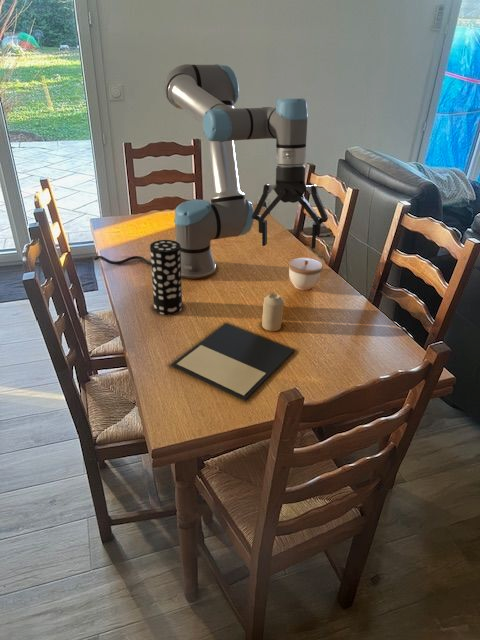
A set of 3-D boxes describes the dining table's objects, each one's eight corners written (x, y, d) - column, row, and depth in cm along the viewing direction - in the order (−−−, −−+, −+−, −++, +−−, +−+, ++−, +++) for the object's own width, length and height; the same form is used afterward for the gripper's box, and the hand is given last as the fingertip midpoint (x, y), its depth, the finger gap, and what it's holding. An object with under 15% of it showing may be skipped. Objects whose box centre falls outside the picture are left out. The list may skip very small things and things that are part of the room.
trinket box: (318, 295, 150) (322, 269, 145) (285, 290, 152) (287, 264, 147) (320, 280, 159) (323, 255, 154) (288, 276, 161) (291, 251, 156)
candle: (260, 320, 136) (263, 290, 130) (279, 320, 136) (282, 290, 131) (263, 331, 131) (265, 300, 126) (282, 331, 132) (285, 300, 126)
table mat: (170, 365, 116) (170, 364, 116) (225, 324, 134) (225, 322, 133) (245, 401, 106) (245, 399, 106) (294, 351, 124) (294, 349, 123)
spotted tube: (186, 304, 142) (185, 242, 131) (174, 317, 135) (172, 253, 125) (162, 298, 144) (158, 237, 134) (148, 311, 138) (144, 248, 127)
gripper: (239, 166, 119) (241, 247, 128) (339, 167, 113) (333, 252, 122) (247, 162, 126) (248, 239, 135) (341, 163, 120) (336, 244, 128)
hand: (288, 246), depth 128 cm, fingers open, 13 cm apart
